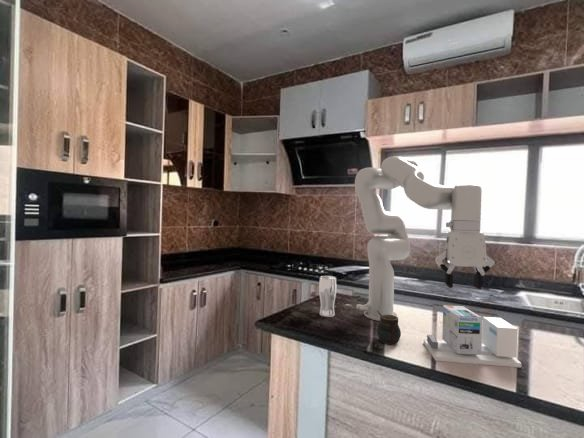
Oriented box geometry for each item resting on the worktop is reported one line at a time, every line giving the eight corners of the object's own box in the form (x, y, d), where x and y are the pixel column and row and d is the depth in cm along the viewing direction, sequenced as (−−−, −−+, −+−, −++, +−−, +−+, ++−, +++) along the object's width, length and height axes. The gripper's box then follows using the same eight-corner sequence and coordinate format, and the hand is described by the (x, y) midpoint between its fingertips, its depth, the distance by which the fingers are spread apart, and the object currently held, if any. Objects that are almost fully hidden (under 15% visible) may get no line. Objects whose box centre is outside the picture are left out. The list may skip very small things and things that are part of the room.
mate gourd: (405, 346, 98) (406, 314, 97) (382, 347, 96) (382, 314, 96) (394, 336, 105) (394, 307, 104) (372, 338, 103) (373, 307, 103)
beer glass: (337, 317, 122) (337, 279, 122) (319, 317, 123) (319, 278, 122) (334, 312, 129) (335, 275, 129) (317, 311, 130) (318, 275, 129)
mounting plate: (435, 360, 88) (435, 346, 88) (423, 343, 100) (424, 330, 100) (521, 367, 85) (521, 352, 85) (498, 348, 97) (498, 335, 97)
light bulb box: (482, 355, 88) (483, 316, 87) (457, 354, 88) (458, 316, 88) (463, 339, 98) (464, 305, 98) (441, 339, 98) (442, 304, 98)
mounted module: (496, 356, 87) (497, 327, 87) (481, 342, 96) (482, 316, 96) (516, 357, 87) (517, 328, 86) (499, 344, 96) (500, 317, 95)
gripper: (438, 226, 89) (436, 289, 90) (504, 228, 87) (502, 292, 87) (430, 225, 97) (428, 283, 97) (491, 227, 94) (489, 286, 95)
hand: (463, 287), depth 92 cm, fingers open, 7 cm apart
